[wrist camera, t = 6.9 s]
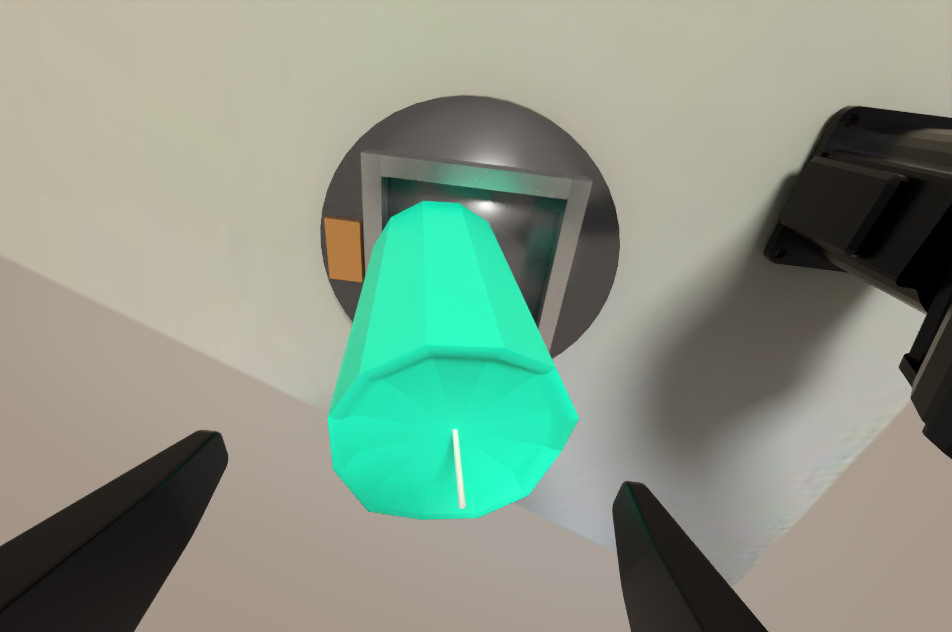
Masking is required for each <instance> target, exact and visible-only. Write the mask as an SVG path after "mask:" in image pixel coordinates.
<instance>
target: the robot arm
mask: <svg viewBox="0 0 952 632" xmlns="http://www.w3.org/2000/svg"><path fill="white" fill-rule="evenodd" d="M850 115H852V120H851V122H850V123H849V124H848V125H847V126H845V121H846V119H847V118H848V117H849V116H850ZM780 248H782V249H781V251H780V253H779V254H777V255H775V252H776V251H777V250H778V249H780ZM764 256H765V257H766V258H767V259H768V260H769V261H771V262H773V263H777V264H785V265H793V266H801V267H809V268H817V269H825V270H833V271H840V272H848V273H851V274H853V275H854V276H856V277H858V278H860V279H862V280H864V281H865V282H867V283H869V284H871V285H873V286H875V287H876V288H878V289H880V290H882V291H884V292H886V293H887V294H889V295H891V296H893V297H895V298H896V299H898V300H900V301H902V302H904V303H906V304H907V305H909V306H911V307H913V308H915V309H917V310H918V311H920V312H922V313H924V314H926V317H925V319H924V322H923V324H922V326H921V328H920V330H919V333H918V335H917V337H916V339H915V341H914V343H913V346H912V348H911V350H910V352H909V353H907V354H905V355H904V356H903V358H902V360H901V363H900V365H899V369H900V370H901V372H902V373H903V375H904V376H905V378H906V379H907V381H908V382H909V384H910V385H911V387H912V393H911V400H912V402H913V404H914V406H915V408H916V410H917V412H918V414H919V416H920V417H921V419H922V421H923V422H924V423H925V426H924V428H923V431H922V432H923V434H924V435H925V436H926V437H927V438H928V439H929V440H930V441H931V442H932V443H934V445H936V446H937V447H938V448H939V449H940V450H941V451H942V452H943V453H945V454H946V455H947V456H948V457H950V458H951V459H952V118H948V117H940V116H933V115H925V114H917V113H909V112H901V111H893V110H885V109H878V108H870V107H862V106H846V107H844V108H842V109H840V110H839V111H838V112H837V113H836V114H835V115H834V117H833V118H832V120H831V122H830V124H829V126H828V128H827V130H826V132H825V134H824V136H823V137H822V139H821V141H820V143H819V145H818V147H817V149H816V151H815V153H814V155H813V157H812V159H811V161H810V162H809V163H808V164H807V166H806V168H805V170H804V172H803V174H802V176H801V178H800V180H799V182H798V184H797V186H796V188H795V190H794V192H793V194H792V195H791V197H790V199H789V201H788V203H787V205H786V207H785V209H784V211H783V213H782V215H781V217H780V221H779V223H778V225H777V227H776V228H775V230H774V232H773V234H772V236H771V238H770V240H769V242H768V244H767V246H766V248H765V250H764ZM227 463H228V453H227V450H226V447H225V444H224V440H223V437H222V435H221V433H219V432H217V431H210V430H199V431H196V432H194V433H192V434H191V435H189V436H187V437H186V438H184V439H182V440H181V441H179V442H177V443H176V444H174V445H172V446H170V447H169V448H167V449H165V450H163V451H162V452H160V453H158V454H157V455H155V456H153V457H152V458H150V459H148V460H146V461H145V462H143V463H141V464H140V465H138V466H136V467H135V468H133V469H131V470H130V471H128V472H126V473H124V474H123V475H121V476H119V477H117V478H116V479H114V480H112V481H111V482H109V483H107V484H106V485H104V486H102V487H100V488H99V489H97V490H95V491H94V492H92V493H90V494H88V495H87V496H85V497H84V498H81V499H80V500H78V501H76V502H75V503H73V504H71V505H70V506H68V507H66V508H64V509H63V510H61V511H59V512H58V513H56V514H54V515H53V516H51V517H49V518H47V519H46V520H44V521H42V522H41V523H39V524H37V525H35V526H34V527H32V528H31V529H29V530H27V531H25V532H23V533H22V534H20V535H18V536H17V537H15V538H13V539H12V540H10V541H8V542H6V543H5V544H3V545H2V546H0V632H134V631H135V629H136V627H137V626H138V624H139V623H140V621H141V619H142V618H143V616H144V615H145V613H146V611H147V610H148V608H149V606H150V605H151V603H152V602H153V600H154V598H155V597H156V595H157V593H158V592H159V590H160V588H161V587H162V585H163V584H164V582H165V580H166V578H167V577H168V575H169V574H170V572H171V570H172V568H173V567H174V565H175V564H176V562H177V561H178V559H179V557H180V556H181V554H182V552H183V551H184V549H185V548H186V546H187V544H188V542H189V541H190V539H191V537H192V535H193V534H194V532H195V530H196V528H197V526H198V524H199V522H200V520H201V518H202V516H203V514H204V512H205V510H206V508H207V506H208V503H209V502H210V499H211V497H212V495H213V493H214V491H215V489H216V487H217V485H218V483H219V481H220V479H221V477H222V475H223V473H224V471H225V469H226V467H227ZM612 513H613V522H614V530H615V538H616V547H617V555H618V563H619V571H620V579H621V586H622V591H623V597H624V601H625V606H626V610H627V615H628V619H629V624H630V628H631V632H768V631H767V630H766V628H765V627H764V626H763V625H762V624H761V623H760V621H759V620H758V619H757V618H756V617H755V615H754V614H753V613H752V612H751V611H750V609H749V608H748V607H747V606H746V605H745V603H744V602H743V601H742V600H741V599H740V597H738V595H737V594H736V593H735V591H734V590H733V589H732V588H731V587H730V585H729V584H728V583H727V582H726V581H725V579H724V578H723V577H722V576H721V575H720V574H719V572H718V571H717V570H716V569H715V568H714V566H713V565H712V564H711V563H710V562H709V560H708V559H707V558H706V557H705V556H704V554H703V553H702V552H701V551H700V550H699V548H698V547H697V546H696V545H695V544H694V543H693V541H692V540H691V539H690V538H689V537H688V535H687V534H686V533H685V532H684V531H683V529H682V528H681V527H680V526H679V525H678V523H677V522H676V521H675V520H674V519H673V517H672V516H671V515H670V514H669V513H668V512H667V510H666V509H665V508H664V507H663V506H662V504H661V503H660V502H659V501H658V500H657V498H656V497H655V496H654V495H653V494H652V492H651V491H650V490H649V489H648V488H647V487H646V486H645V485H644V484H643V483H640V482H632V481H625V482H624V483H623V484H622V485H621V488H620V490H619V492H618V494H617V496H616V498H615V500H614V503H613V509H612Z"/></svg>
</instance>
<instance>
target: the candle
mask: <svg viewBox="0 0 952 632" xmlns="http://www.w3.org/2000/svg"><path fill="white" fill-rule="evenodd" d="M578 420H579V417H578V415H577V413H576V410H575V408H574V406H573V404H572V402H571V400H570V397H569V395H568V393H567V391H566V389H565V387H564V384H563V382H562V380H561V378H560V376H559V374H558V371H557V369H556V367H555V365H554V363H553V361H552V358H551V356H550V354H549V352H548V350H547V348H546V345H545V343H544V341H543V339H542V337H541V335H540V332H539V330H538V328H537V326H536V324H535V322H534V319H533V317H532V315H531V313H530V311H529V309H528V306H527V304H526V302H525V300H524V298H523V296H522V294H521V291H520V289H519V287H518V285H517V283H516V281H515V278H514V276H513V274H512V272H511V270H510V268H509V265H508V263H507V261H506V259H505V257H504V255H503V252H502V250H501V248H500V246H499V244H498V242H497V239H496V237H495V235H494V233H493V231H492V229H491V226H490V224H489V222H487V221H486V220H484V219H483V218H481V217H480V216H478V215H477V214H475V213H474V212H472V211H471V210H469V209H468V208H466V207H465V206H463V205H462V204H460V203H452V202H434V201H422V202H420V203H418V204H416V205H414V206H412V207H410V208H408V209H406V210H404V211H402V212H400V213H398V214H396V215H394V216H392V217H391V218H390V219H389V221H388V223H387V224H386V226H385V228H384V229H383V231H382V233H381V234H380V236H379V238H378V240H377V241H376V243H375V245H374V246H373V250H372V254H371V257H370V261H369V265H368V268H367V272H366V276H365V280H364V283H363V287H362V291H361V295H360V298H359V302H358V306H357V310H356V313H355V317H354V321H353V325H352V328H351V332H350V336H349V339H348V343H347V347H346V351H345V354H344V358H343V362H342V366H341V369H340V373H339V377H338V381H337V384H336V388H335V392H334V396H333V399H332V403H331V407H330V410H329V414H328V427H329V436H330V445H331V455H332V463H333V470H334V471H335V472H336V474H337V475H338V476H339V477H340V478H341V480H342V481H343V482H344V483H345V484H346V485H347V487H348V488H349V489H350V490H351V491H352V493H353V494H354V495H355V496H356V497H357V499H358V500H359V501H360V502H361V503H362V505H363V506H364V507H365V508H366V509H367V510H368V511H369V512H376V513H381V514H388V515H394V516H401V517H407V518H414V519H420V520H426V519H427V520H428V519H464V518H479V517H481V516H484V515H486V514H488V513H490V512H493V511H495V510H497V509H499V508H502V507H504V506H506V505H508V504H511V503H513V502H515V501H517V500H520V499H522V498H524V497H526V496H528V495H529V494H530V493H531V492H532V490H533V489H534V488H535V486H536V485H537V484H538V482H539V481H540V479H541V478H542V477H543V475H544V474H545V473H546V471H547V470H548V469H549V467H550V466H551V465H552V463H553V462H554V461H555V459H556V458H557V457H558V455H559V454H560V453H561V451H562V450H563V448H564V446H565V444H566V442H567V440H568V438H569V437H570V435H571V433H572V431H573V429H574V427H575V425H576V423H577V421H578Z"/></svg>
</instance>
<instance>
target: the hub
mask: <svg viewBox="0 0 952 632" xmlns="http://www.w3.org/2000/svg"><path fill="white" fill-rule="evenodd" d="M422 201H434V202H452V203H460V204H462V205H463V206H465V207H466V208H468V209H469V210H471V211H472V212H474V213H475V214H477V215H478V216H480V217H481V218H483V219H484V220H486V221H487V222H489V224H490V226H491V229H492V231H493V233H494V235H495V237H496V239H497V242H498V244H499V246H500V248H501V250H502V252H503V255H504V257H505V259H506V261H507V263H508V265H509V268H510V270H511V272H512V274H513V276H514V278H515V281H516V283H517V285H518V287H519V289H520V291H521V294H522V296H523V298H524V300H525V302H526V304H527V306H528V309H529V311H530V313H531V315H532V317H533V319H534V322H535V324H536V326H537V328H538V330H539V332H540V335H541V337H542V339H543V341H544V343H545V345H546V348H547V350H548V352H549V354H550V356H551V358H554V357H555V356H557V355H559V354H560V353H562V352H563V351H565V350H566V349H567V348H568V347H569V346H571V345H572V344H573V343H574V342H576V341H577V340H578V339H579V338H580V337H581V335H582V334H583V333H584V332H585V331H586V330H587V329H588V328H589V327H590V325H591V324H592V323H593V321H594V320H595V319H596V317H597V316H598V315H599V313H600V311H601V309H602V307H603V306H604V304H605V302H606V300H607V298H608V295H609V293H610V290H611V288H612V285H613V283H614V279H615V275H616V271H617V267H618V259H619V249H620V240H619V225H618V219H617V214H616V209H615V205H614V202H613V199H612V197H611V194H610V191H609V188H608V186H607V184H606V182H605V180H604V178H603V176H602V174H601V172H600V171H599V169H598V167H597V166H596V165H595V163H594V162H593V160H592V159H591V158H590V156H589V155H588V154H587V152H586V151H585V150H584V149H583V148H582V147H581V146H580V145H579V144H578V143H577V142H576V141H575V140H574V139H573V138H572V137H571V136H570V135H569V134H568V133H567V132H565V131H564V130H563V129H561V128H560V127H559V126H557V125H556V124H555V123H553V122H552V121H551V120H549V119H548V118H546V117H544V116H543V115H541V114H539V113H537V112H535V111H533V110H532V109H530V108H527V107H524V106H522V105H519V104H516V103H514V102H511V101H508V100H503V99H498V98H493V97H488V96H475V95H459V96H449V97H440V98H436V99H432V100H428V101H424V102H420V103H417V104H414V105H411V106H409V107H407V108H404V109H402V110H400V111H397V112H395V113H393V114H392V115H390V116H389V117H387V118H385V119H384V120H382V121H381V122H379V123H377V124H376V125H375V126H373V127H372V128H371V129H370V130H369V131H368V132H366V133H365V134H364V135H363V136H362V137H361V138H360V139H359V140H358V141H357V142H356V143H355V144H354V146H353V147H352V148H351V149H350V150H349V151H348V153H347V154H346V155H345V157H344V158H343V160H342V162H341V163H340V165H339V166H338V168H337V170H336V171H335V173H334V176H333V178H332V181H331V183H330V185H329V188H328V190H327V194H326V198H325V201H324V205H323V210H322V219H321V249H322V255H323V261H324V265H325V269H326V272H327V275H328V279H329V282H330V284H331V286H332V288H333V291H334V293H335V295H336V297H337V299H338V301H339V302H340V304H341V306H342V307H343V309H344V311H345V312H346V313H347V315H348V316H349V317H350V319H351V320H352V321H354V317H355V313H356V310H357V306H358V302H359V298H360V295H361V291H362V287H363V283H364V280H365V276H366V272H367V268H368V265H369V261H370V257H371V254H372V250H373V246H374V245H375V243H376V241H377V240H378V238H379V236H380V234H381V233H382V231H383V229H384V228H385V226H386V224H387V223H388V221H389V219H390V218H391V217H392V216H394V215H396V214H398V213H400V212H402V211H404V210H406V209H408V208H410V207H412V206H414V205H416V204H418V203H420V202H422Z"/></svg>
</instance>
